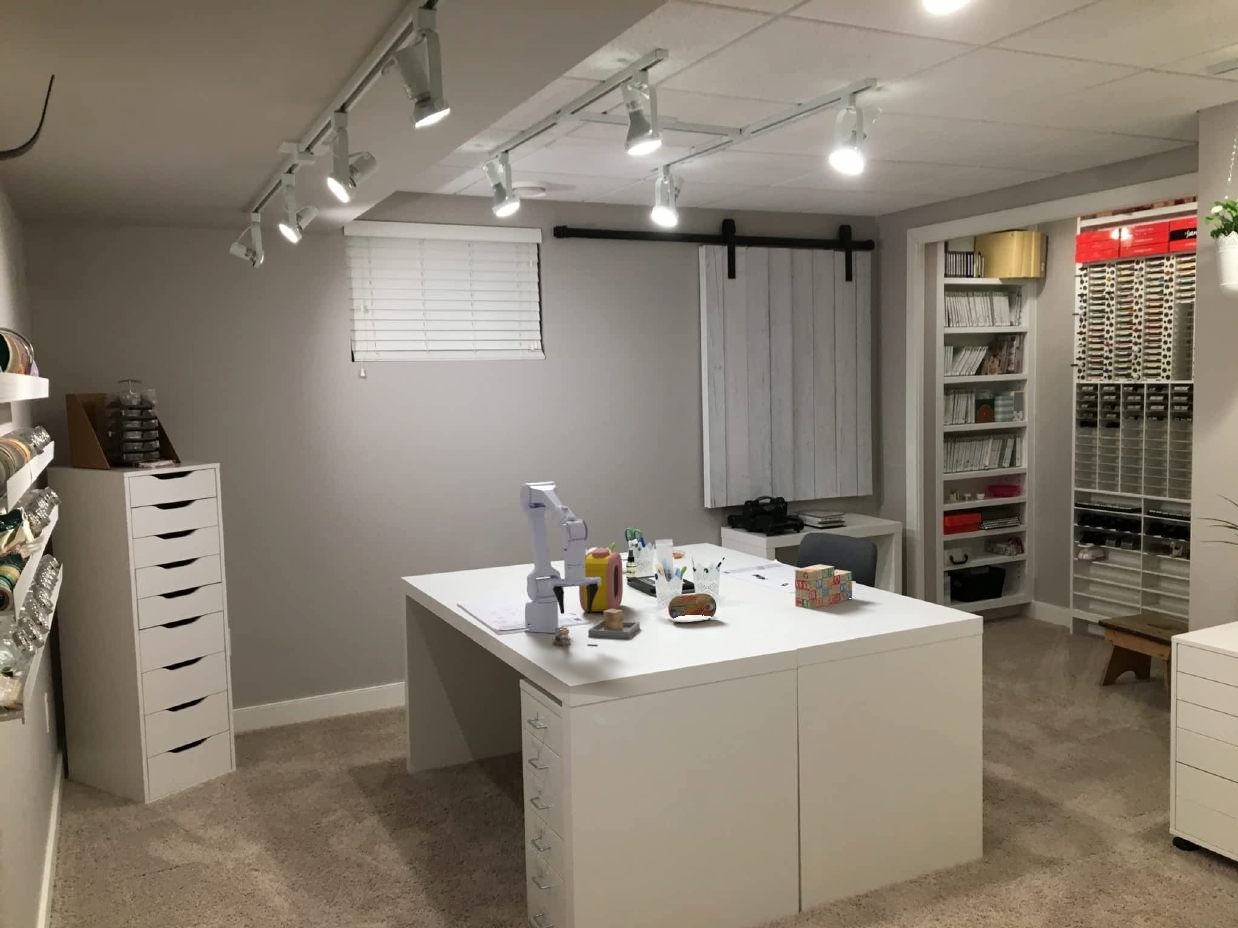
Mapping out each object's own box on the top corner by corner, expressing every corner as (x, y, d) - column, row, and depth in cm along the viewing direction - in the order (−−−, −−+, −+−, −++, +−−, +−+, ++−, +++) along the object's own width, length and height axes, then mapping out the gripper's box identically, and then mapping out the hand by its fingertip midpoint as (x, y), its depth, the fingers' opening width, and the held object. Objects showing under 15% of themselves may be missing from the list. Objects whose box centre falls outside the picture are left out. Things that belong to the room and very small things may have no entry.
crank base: (550, 645, 283) (549, 641, 283) (556, 640, 288) (556, 636, 288) (594, 647, 279) (594, 643, 279) (599, 643, 284) (599, 639, 284)
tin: (670, 624, 305) (670, 596, 304) (667, 622, 308) (666, 594, 307) (717, 620, 309) (716, 593, 308) (713, 617, 312) (712, 591, 311)
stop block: (603, 631, 295) (603, 611, 294) (612, 628, 298) (611, 608, 298) (614, 633, 292) (614, 612, 292) (623, 630, 296) (622, 610, 295)
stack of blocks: (837, 596, 339) (837, 560, 338) (852, 599, 334) (852, 562, 333) (794, 606, 326) (794, 568, 325) (810, 609, 321) (809, 571, 320)
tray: (588, 636, 292) (588, 629, 291) (601, 626, 303) (601, 620, 303) (628, 638, 288) (628, 632, 288) (639, 628, 300) (639, 622, 299)
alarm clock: (612, 616, 316) (611, 555, 314) (578, 615, 318) (576, 554, 317) (624, 603, 334) (622, 545, 332) (591, 602, 336) (590, 545, 335)
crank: (554, 637, 286) (553, 623, 285) (566, 636, 287) (566, 622, 286) (559, 645, 277) (559, 631, 276) (572, 644, 277) (572, 630, 277)
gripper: (551, 567, 275) (552, 616, 276) (603, 564, 278) (604, 612, 279) (546, 563, 282) (548, 611, 283) (597, 560, 285) (598, 607, 286)
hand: (575, 611), depth 282 cm, fingers open, 7 cm apart
